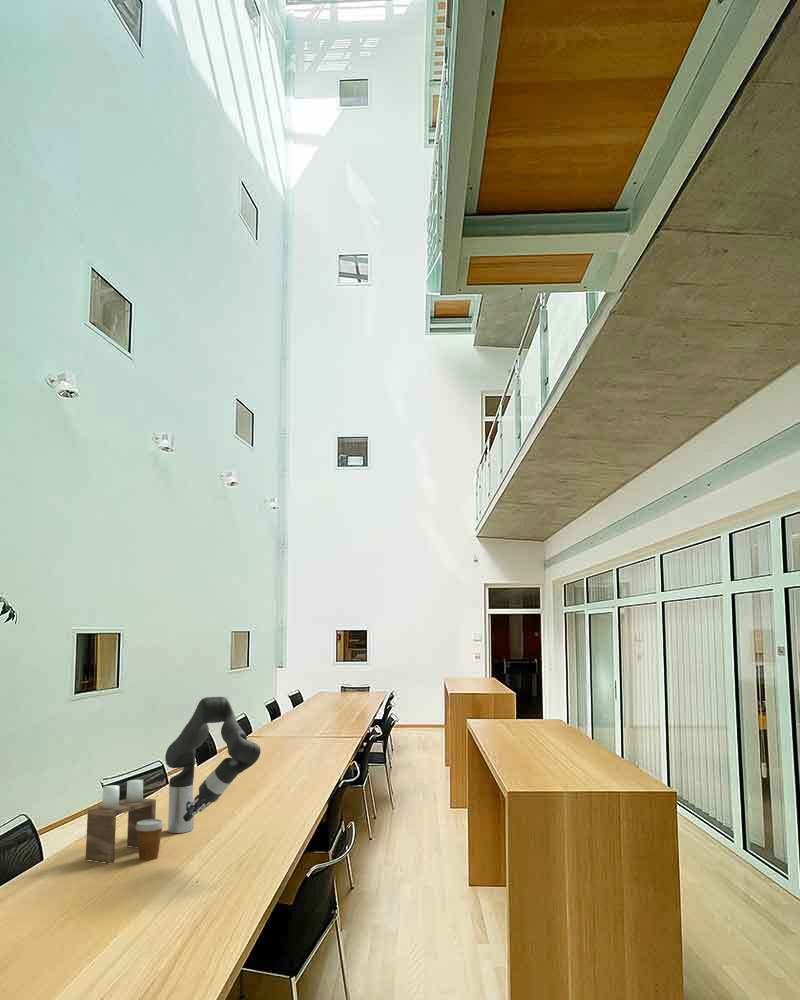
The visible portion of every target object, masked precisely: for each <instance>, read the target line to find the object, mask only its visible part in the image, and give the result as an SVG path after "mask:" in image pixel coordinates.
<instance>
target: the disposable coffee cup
mask: <svg viewBox="0 0 800 1000" xmlns="http://www.w3.org/2000/svg"><path fill="white" fill-rule="evenodd" d="M164 825H165V823H163V820H162V819H156V818H155V819H149V820H142V821H139V822H137V824H136V826H135V828H136V830H137V840H138V848H137V850H138V859H139V860H140V861H152V860H153V859H154V860H157V859H158V858H159V853H160V845H161V837H162V833H163V832H162V831H163V827H164Z"/></svg>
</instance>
